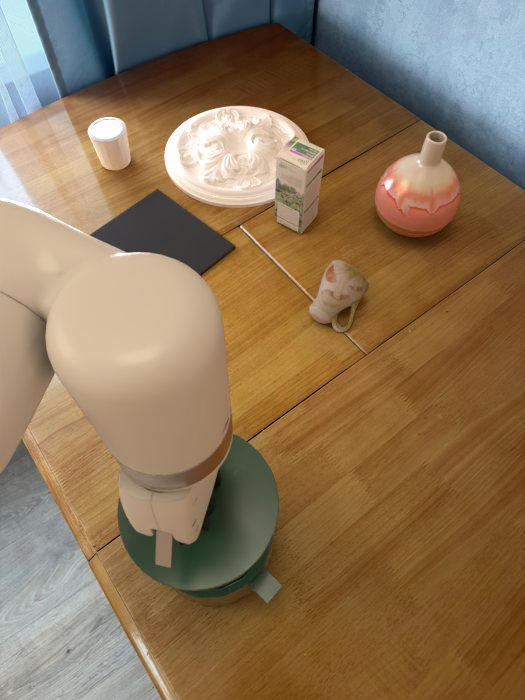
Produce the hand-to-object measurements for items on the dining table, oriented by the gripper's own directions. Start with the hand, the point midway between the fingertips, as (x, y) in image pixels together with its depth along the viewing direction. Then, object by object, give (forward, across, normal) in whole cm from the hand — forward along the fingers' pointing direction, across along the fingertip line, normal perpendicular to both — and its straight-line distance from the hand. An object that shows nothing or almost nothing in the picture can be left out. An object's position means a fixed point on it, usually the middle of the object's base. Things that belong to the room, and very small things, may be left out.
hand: (198, 501), depth 48 cm
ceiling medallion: (+21, -70, -15) cm, 74 cm away
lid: (+1, 0, 0) cm, 1 cm away
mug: (+21, -39, +9) cm, 45 cm away
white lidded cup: (+21, -63, -37) cm, 76 cm away
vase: (+21, -60, +19) cm, 66 cm away
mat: (+21, -44, -23) cm, 53 cm away
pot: (+21, 0, 0) cm, 21 cm away
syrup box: (+21, -56, -1) cm, 60 cm away
